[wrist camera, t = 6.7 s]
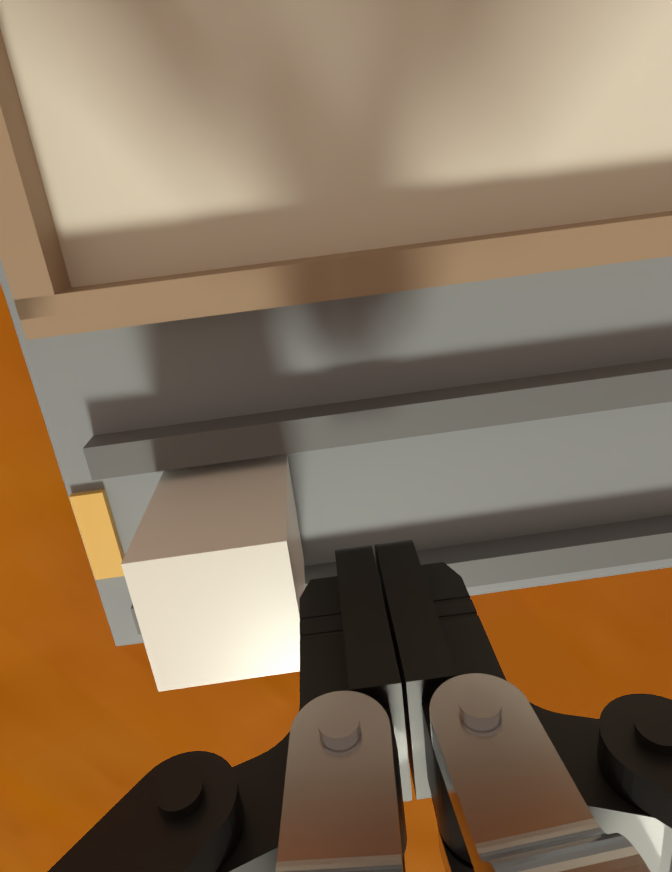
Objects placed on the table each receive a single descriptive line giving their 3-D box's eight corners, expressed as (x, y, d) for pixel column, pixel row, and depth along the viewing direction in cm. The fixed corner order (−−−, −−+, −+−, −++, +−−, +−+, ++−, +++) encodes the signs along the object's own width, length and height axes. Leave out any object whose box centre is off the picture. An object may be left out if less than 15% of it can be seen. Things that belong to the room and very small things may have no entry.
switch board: (854, -204, 12) (1031, -329, 9) (743, 514, 19) (828, 574, 16) (-73, -101, 12) (-192, -199, 9) (133, 600, 18) (103, 679, 15)
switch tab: (286, 454, 15) (286, 540, 11) (303, 558, 16) (308, 670, 12) (164, 470, 15) (121, 564, 11) (189, 574, 16) (159, 691, 12)
